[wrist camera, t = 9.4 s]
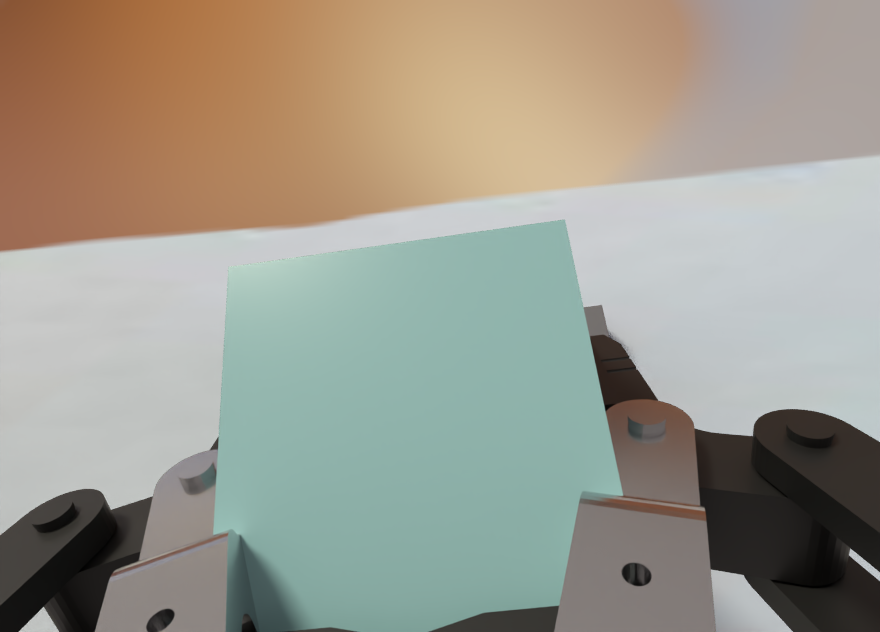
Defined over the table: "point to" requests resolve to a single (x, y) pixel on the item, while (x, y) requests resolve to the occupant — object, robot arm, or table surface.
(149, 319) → the table surface
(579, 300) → the block
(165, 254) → the table surface
